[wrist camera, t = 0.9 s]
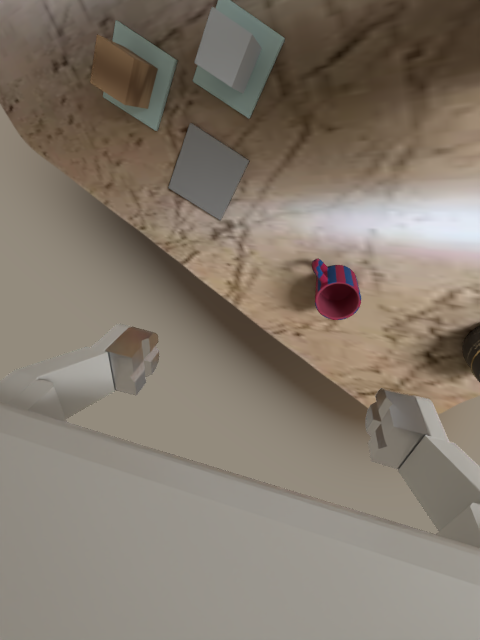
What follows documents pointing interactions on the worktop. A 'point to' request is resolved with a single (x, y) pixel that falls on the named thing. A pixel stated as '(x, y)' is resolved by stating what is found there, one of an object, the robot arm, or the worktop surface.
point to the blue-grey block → (228, 51)
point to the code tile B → (263, 66)
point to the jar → (473, 351)
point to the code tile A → (162, 80)
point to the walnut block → (122, 73)
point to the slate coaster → (207, 172)
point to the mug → (336, 291)
